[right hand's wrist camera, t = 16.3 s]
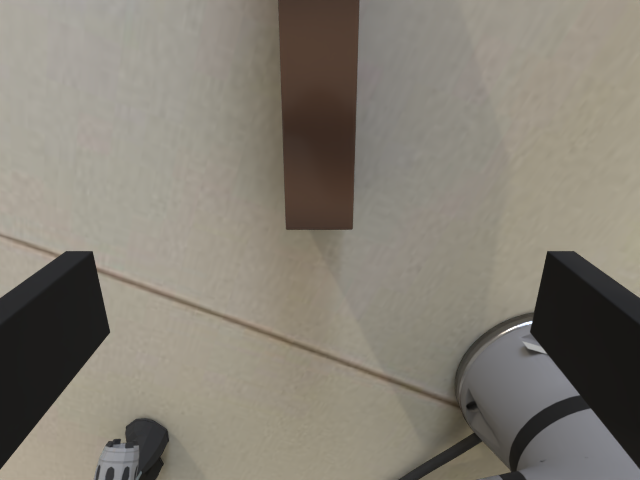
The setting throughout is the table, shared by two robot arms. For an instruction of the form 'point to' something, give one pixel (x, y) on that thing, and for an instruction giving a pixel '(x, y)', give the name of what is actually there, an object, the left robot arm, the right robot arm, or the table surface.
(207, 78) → the table surface
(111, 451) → the robot
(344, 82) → the beam
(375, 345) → the table surface
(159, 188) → the table surface
